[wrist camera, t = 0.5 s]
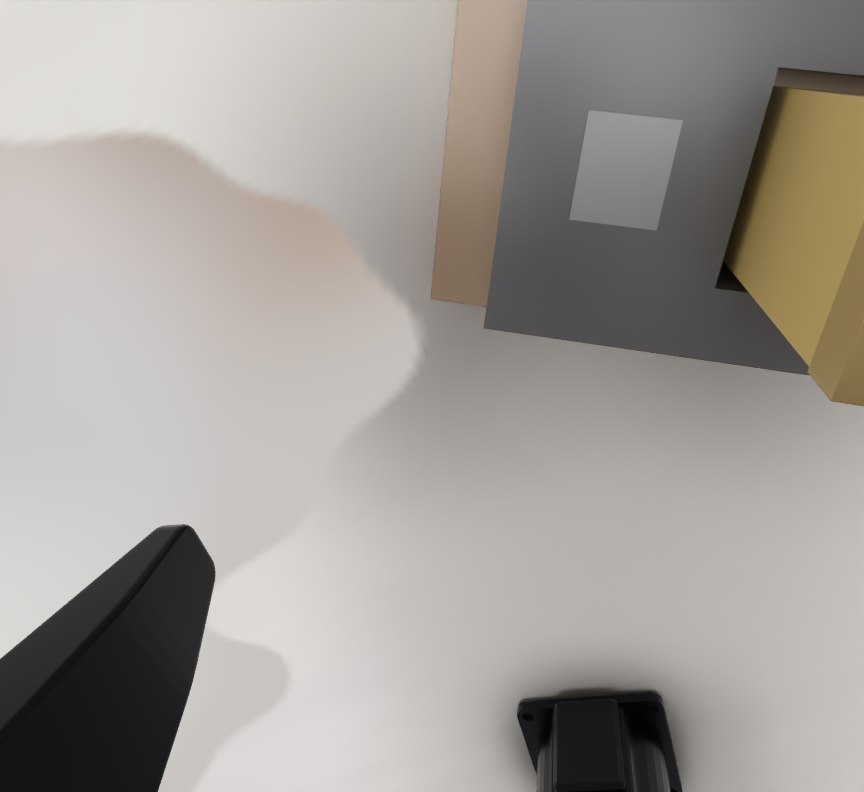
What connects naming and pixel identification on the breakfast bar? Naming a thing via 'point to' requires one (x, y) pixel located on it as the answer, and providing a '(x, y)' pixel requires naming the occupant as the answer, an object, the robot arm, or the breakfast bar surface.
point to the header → (622, 164)
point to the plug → (808, 232)
